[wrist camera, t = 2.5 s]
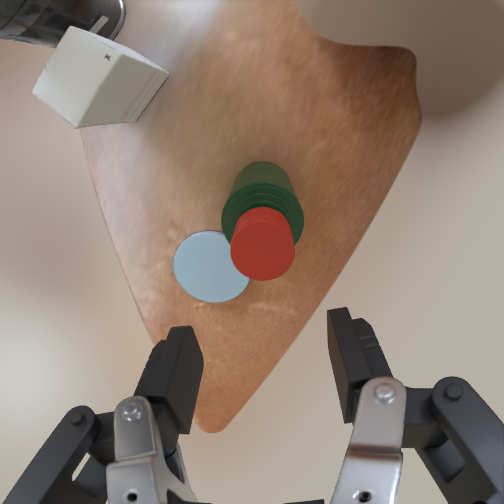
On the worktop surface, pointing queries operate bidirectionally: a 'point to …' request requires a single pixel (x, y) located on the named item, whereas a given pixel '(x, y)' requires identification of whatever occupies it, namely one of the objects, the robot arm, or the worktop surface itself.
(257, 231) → the cap
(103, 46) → the white packaging box
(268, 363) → the worktop surface
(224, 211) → the sauce bottle
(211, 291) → the saucer
